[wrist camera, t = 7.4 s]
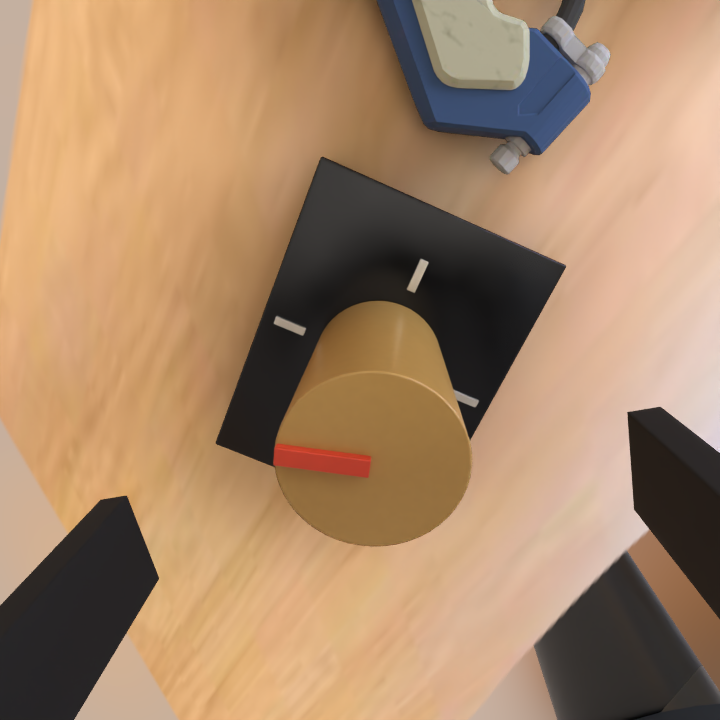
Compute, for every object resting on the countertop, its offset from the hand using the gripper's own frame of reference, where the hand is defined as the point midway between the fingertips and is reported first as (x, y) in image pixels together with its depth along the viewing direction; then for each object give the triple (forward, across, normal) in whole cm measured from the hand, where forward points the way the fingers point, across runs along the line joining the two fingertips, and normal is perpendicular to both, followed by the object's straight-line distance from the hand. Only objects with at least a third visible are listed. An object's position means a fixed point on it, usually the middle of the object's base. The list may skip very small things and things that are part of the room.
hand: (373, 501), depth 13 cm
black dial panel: (+13, 0, +1) cm, 13 cm away
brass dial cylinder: (+10, 0, +1) cm, 10 cm away
